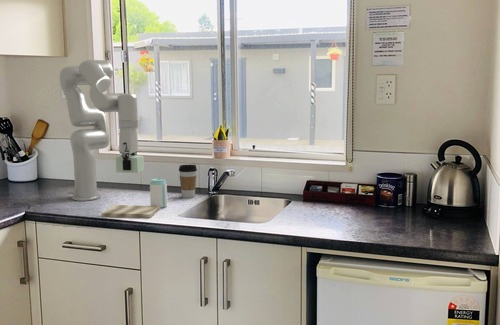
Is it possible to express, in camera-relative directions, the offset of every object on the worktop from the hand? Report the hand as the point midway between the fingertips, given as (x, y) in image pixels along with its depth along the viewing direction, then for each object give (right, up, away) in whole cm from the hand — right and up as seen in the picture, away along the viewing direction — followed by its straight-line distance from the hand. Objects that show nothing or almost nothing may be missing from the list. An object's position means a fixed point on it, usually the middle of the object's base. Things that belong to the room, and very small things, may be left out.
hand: (130, 168), depth 222 cm
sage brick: (0, -1, 0) cm, 1 cm away
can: (+9, -17, +13) cm, 23 cm away
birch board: (0, -18, +2) cm, 18 cm away
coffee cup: (+20, -14, +33) cm, 41 cm away
